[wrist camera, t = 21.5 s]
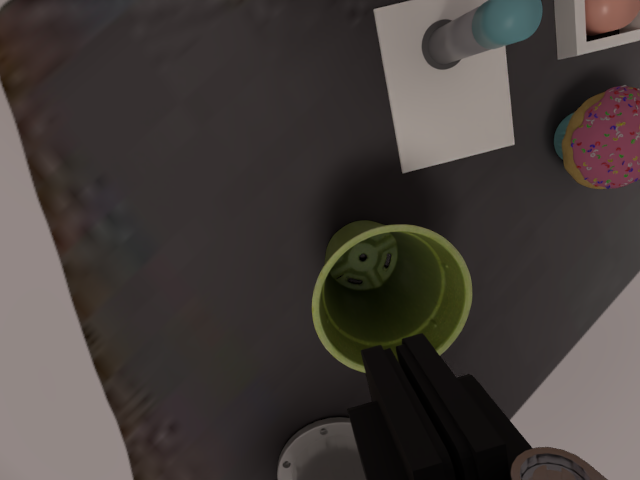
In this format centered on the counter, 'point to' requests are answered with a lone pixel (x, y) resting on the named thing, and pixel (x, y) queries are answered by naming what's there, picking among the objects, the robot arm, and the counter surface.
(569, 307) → the counter surface
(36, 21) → the counter surface
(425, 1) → the paper
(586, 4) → the button
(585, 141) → the cupcake
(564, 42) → the button housing
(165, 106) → the counter surface
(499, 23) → the marker
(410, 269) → the plant pot
